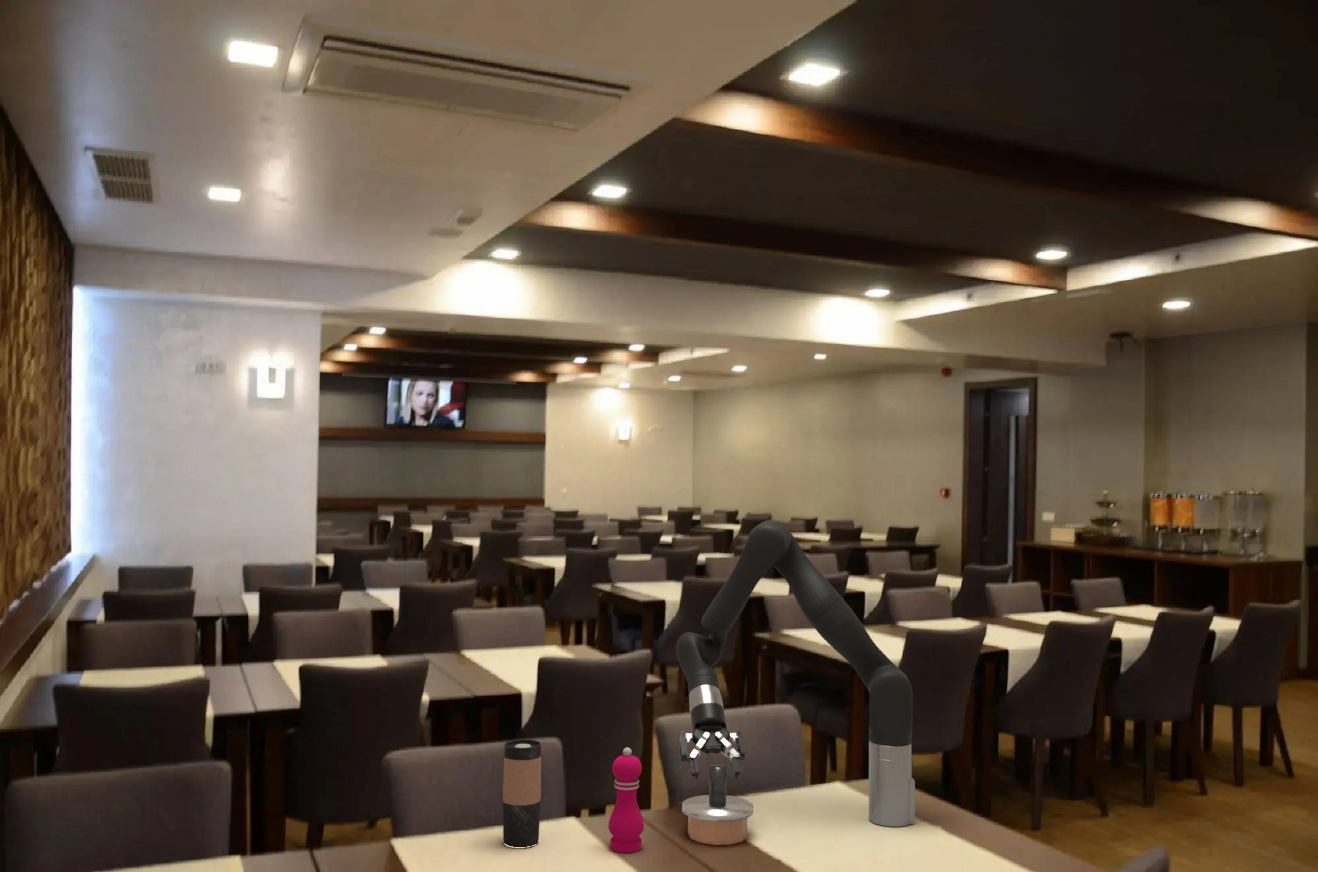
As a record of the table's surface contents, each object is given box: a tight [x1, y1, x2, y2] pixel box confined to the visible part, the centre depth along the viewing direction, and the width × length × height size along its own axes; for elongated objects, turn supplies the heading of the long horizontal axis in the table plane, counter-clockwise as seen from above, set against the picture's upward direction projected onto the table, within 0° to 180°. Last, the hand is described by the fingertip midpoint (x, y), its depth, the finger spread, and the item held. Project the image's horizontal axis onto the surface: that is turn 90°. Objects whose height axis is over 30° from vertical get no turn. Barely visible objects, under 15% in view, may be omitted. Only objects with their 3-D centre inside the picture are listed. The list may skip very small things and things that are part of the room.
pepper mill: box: [607, 747, 645, 854], centre depth 214 cm, size 7×7×20 cm
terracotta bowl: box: [687, 816, 748, 846], centre depth 222 cm, size 12×12×5 cm
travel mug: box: [502, 739, 542, 847], centre depth 216 cm, size 8×8×20 cm
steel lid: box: [681, 763, 754, 822], centre depth 223 cm, size 15×15×9 cm
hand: (716, 776), depth 224 cm, fingers open, 8 cm apart
